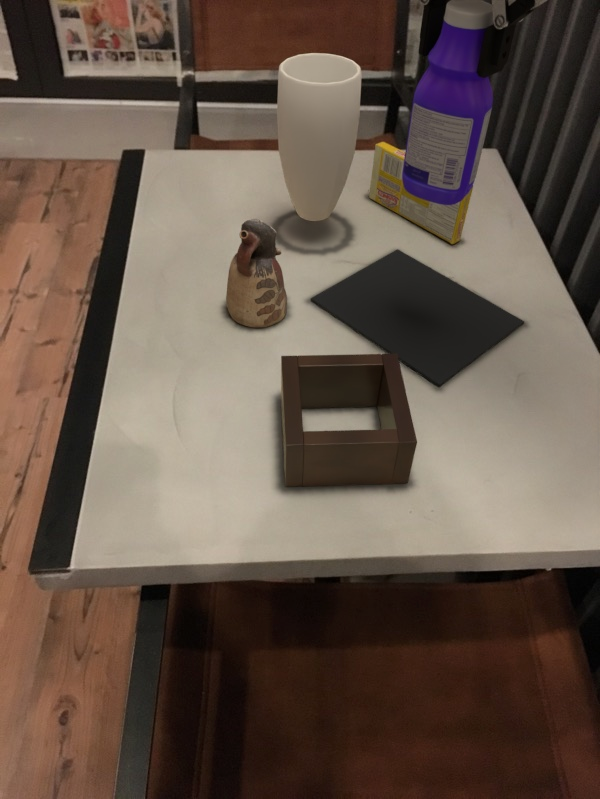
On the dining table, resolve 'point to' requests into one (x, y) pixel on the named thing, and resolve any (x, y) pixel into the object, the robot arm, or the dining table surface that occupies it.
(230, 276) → the figurine
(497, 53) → the robot arm
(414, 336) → the mat
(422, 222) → the candy box
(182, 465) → the dining table surface
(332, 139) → the cup
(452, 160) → the bottle
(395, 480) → the holder
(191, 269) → the dining table surface
